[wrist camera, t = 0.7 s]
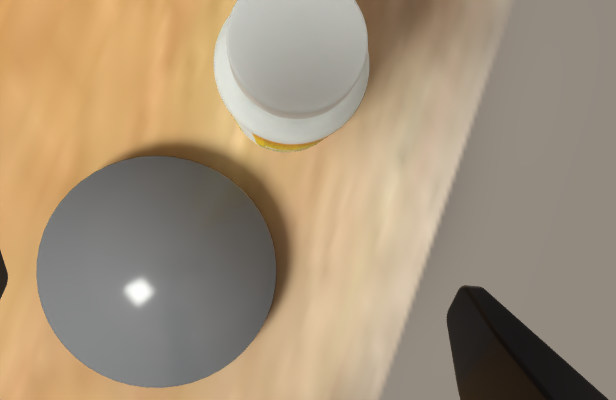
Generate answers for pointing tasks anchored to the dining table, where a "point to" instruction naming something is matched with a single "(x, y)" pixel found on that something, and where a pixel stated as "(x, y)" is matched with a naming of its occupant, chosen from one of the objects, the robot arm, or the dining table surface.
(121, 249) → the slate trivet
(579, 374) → the robot arm
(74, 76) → the dining table surface
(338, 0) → the supplement bottle
